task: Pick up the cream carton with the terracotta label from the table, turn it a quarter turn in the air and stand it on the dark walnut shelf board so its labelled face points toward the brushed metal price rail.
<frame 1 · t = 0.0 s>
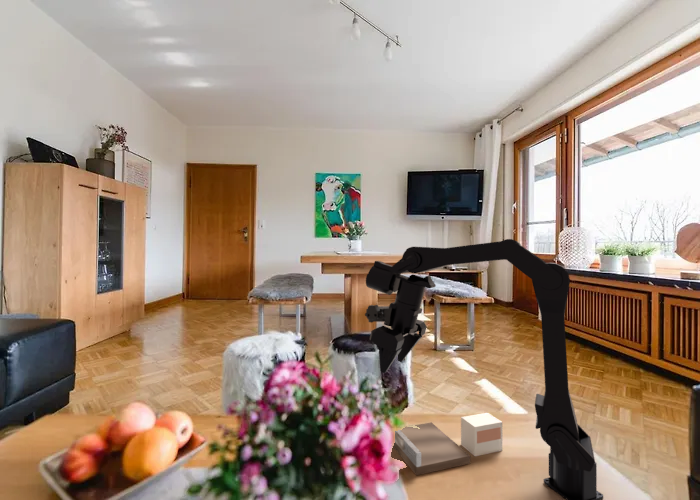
hand: (391, 366, 77), 15 cm above the table, tool pointing down, fingers open, 9 cm apart
shelf board: (424, 449, 71), on the table
carton: (481, 447, 72), on the table
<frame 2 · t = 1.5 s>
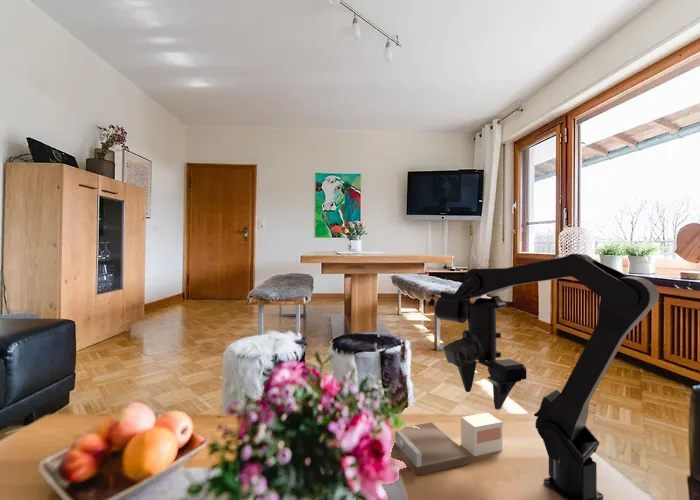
hand: (481, 399, 73), 10 cm above the table, tool pointing down, fingers open, 9 cm apart
nothing on the table moved.
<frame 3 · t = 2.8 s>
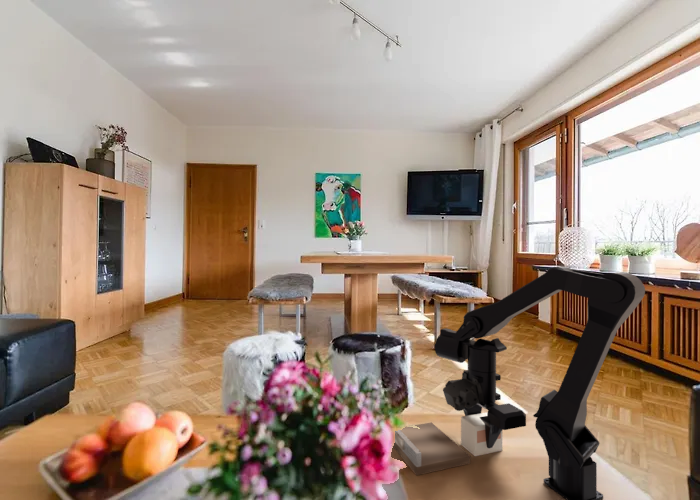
hand: (481, 441, 72), 1 cm above the table, tool pointing down, fingers closed on carton, 5 cm apart
carton: (481, 447, 72), on the table, touching gripper
everything else where it was.
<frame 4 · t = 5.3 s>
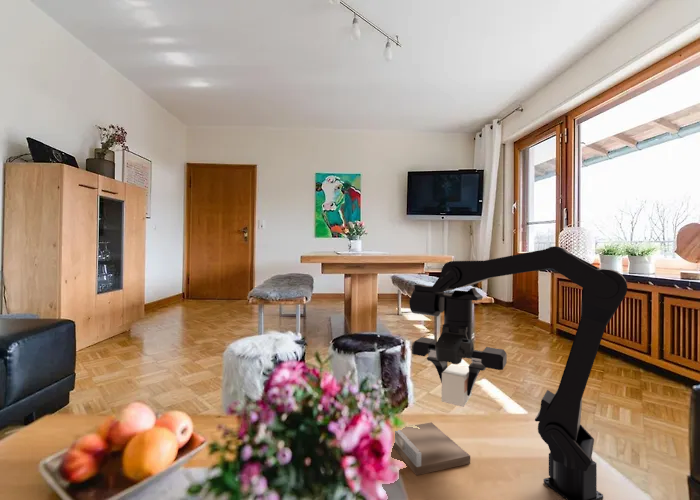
hand: (456, 392, 72), 12 cm above the table, tool pointing down, fingers closed on carton, 5 cm apart
carton: (456, 398, 72), point 10 cm above the table, touching gripper
everything else where it was.
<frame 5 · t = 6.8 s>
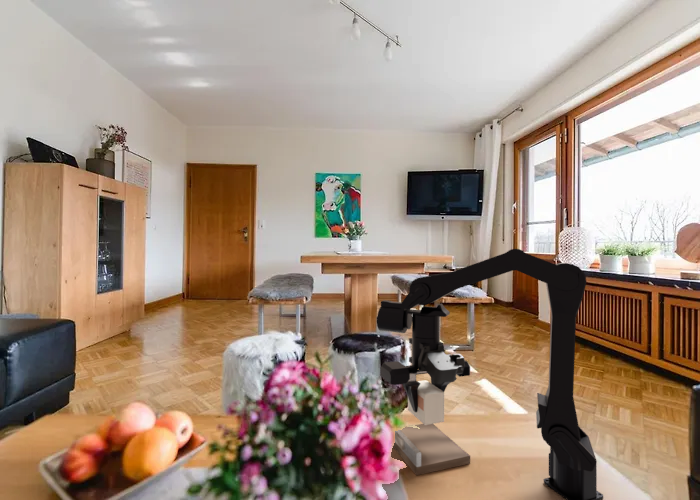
hand: (425, 409, 72), 8 cm above the table, tool pointing down, fingers closed on carton, 5 cm apart
carton: (425, 415, 72), point 7 cm above the table, touching gripper
everything else where it was.
when the fingers open (4 cm above the table, at t = 7.9 s): carton drops 1 cm, resting on shelf board.
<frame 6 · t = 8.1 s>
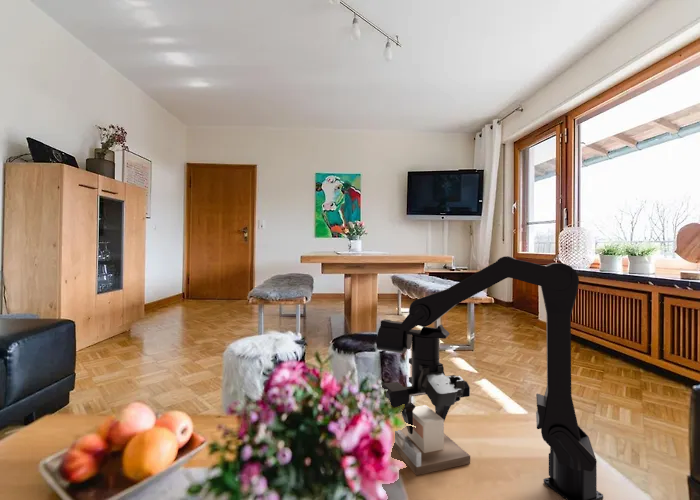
hand: (425, 430, 72), 4 cm above the table, tool pointing down, fingers open, 7 cm apart
carton: (424, 442, 72), point 1 cm above the table, touching shelf board
everything else where it was.
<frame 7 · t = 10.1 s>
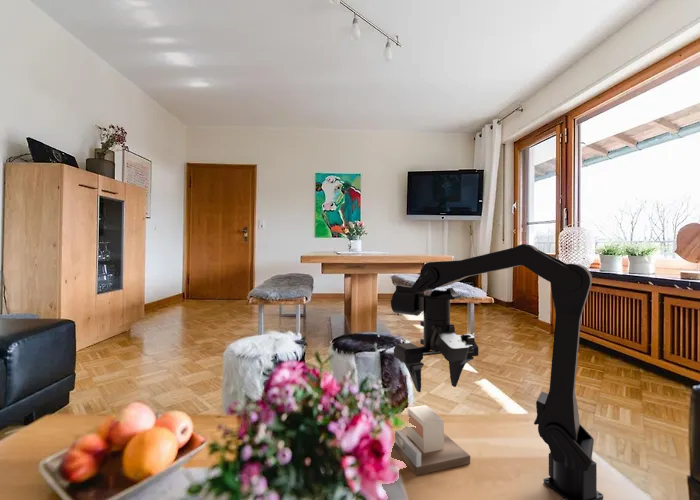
hand: (436, 388, 75), 11 cm above the table, tool pointing down, fingers open, 9 cm apart
nothing on the table moved.
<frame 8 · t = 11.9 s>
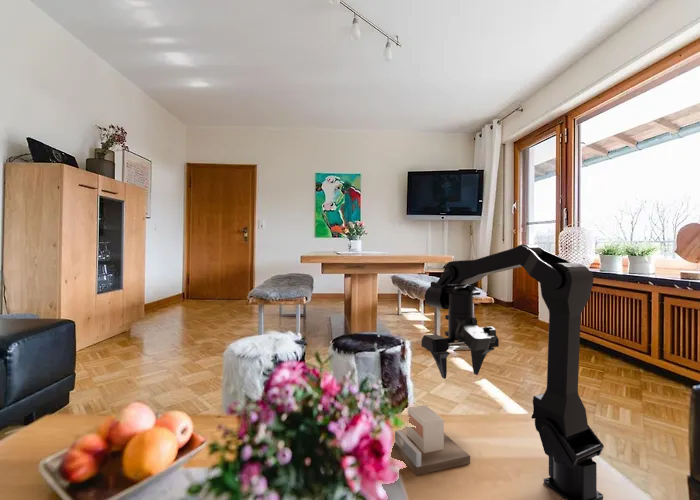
hand: (460, 376, 83), 12 cm above the table, tool pointing down, fingers open, 9 cm apart
nothing on the table moved.
at the end: carton inside the target area on the shelf board (0.0 cm from its centre), point 1.5 cm above the shelf board's base; carton tilted 0°; the gripper is holding nothing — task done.
